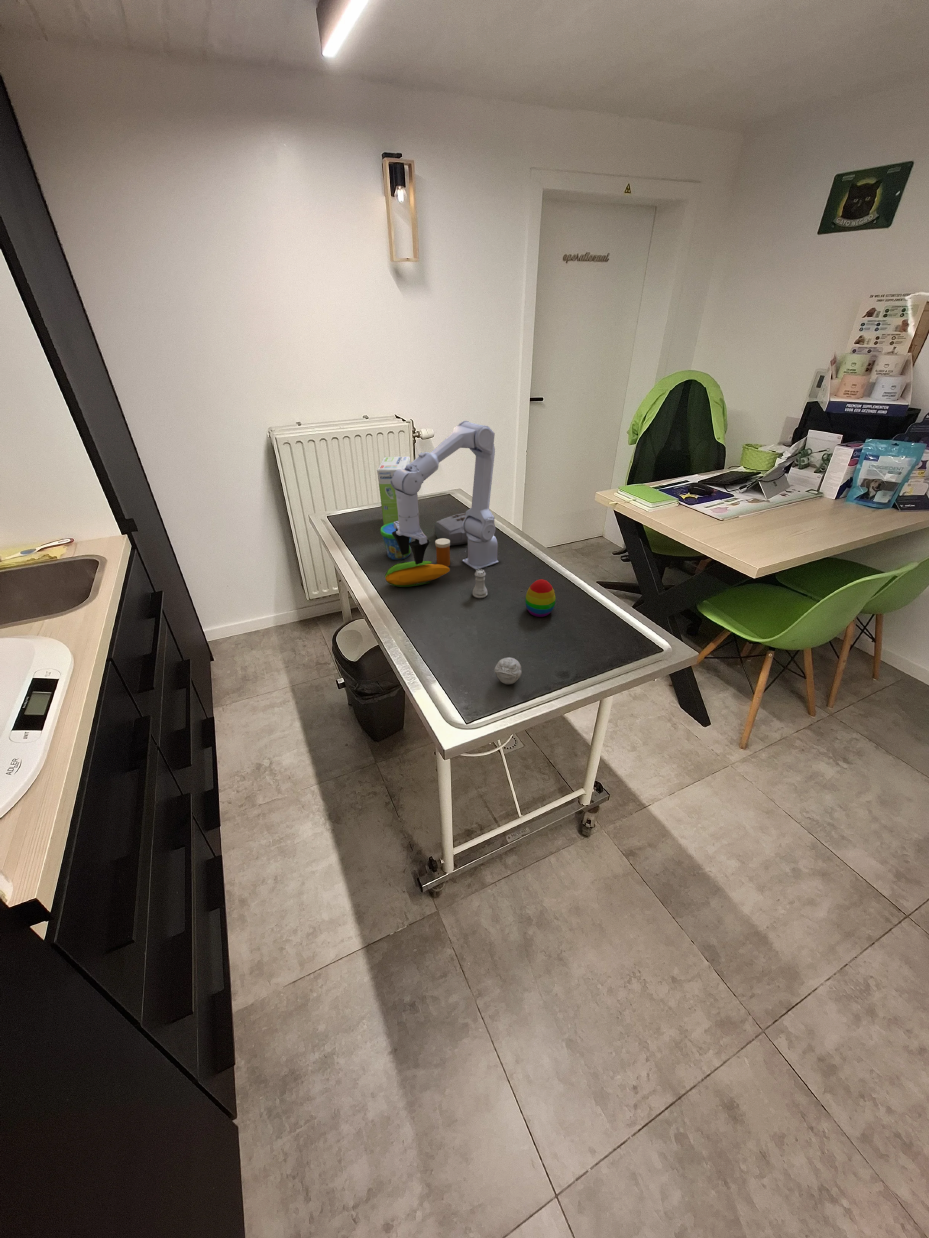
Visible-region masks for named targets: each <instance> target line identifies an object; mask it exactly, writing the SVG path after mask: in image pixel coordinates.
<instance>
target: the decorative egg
mask: <svg viewBox="0 0 929 1238" xmlns="http://www.w3.org/2000/svg"><path fill="white" fill-rule="evenodd" d="M524 602H525V607H526V610H527V611H528V612H529V613H530V615H532V616H534V617H538V618H543V617H547V616H548V615H550V613H552V611H553V610H554V609H555V605H556V592H555V589H554V588H553V586H552V584H551V582H549V581H548V580H546V579H544V578H543V579H541V578H540V579H537V580H535V581H534V582H533V583H532V584H530V585H529V587H528V589H527V591H526V594H525V600H524Z"/></svg>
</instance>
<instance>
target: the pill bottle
mask: <svg viewBox="0 0 929 1238" xmlns="http://www.w3.org/2000/svg"><path fill="white" fill-rule="evenodd" d="M434 545H435V553H436V557H435V558H436V564H440V565H444V566H446V567H449V566H450V565H451V548H450V546H451V545H450V540H449V539H446V538H440V539H438V538H437V539H435V541H434Z"/></svg>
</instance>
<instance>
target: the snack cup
mask: <svg viewBox="0 0 929 1238" xmlns="http://www.w3.org/2000/svg"><path fill="white" fill-rule="evenodd" d="M379 531H380V535H381V536H382V539H383V543H384V547H385V552H386V554H387V557H388V558H389V559H391V560H392V561H394V560H397V561H400V560H403V561H404V560H405V559H407V558H408V557H409V556H410V555H411V552H412V551H411V550H412V549H411V547H410V545H409V553H408V554H405V555H402V554H401V552H400V549H399V546H398V543H397V541H396V539H395V538H394V536H393V535H392V532H394V531H396V529H395V528H394V522H393V523H388V524H386V525H384V524H383V525H382V526H381V527H380V529H379ZM410 542H412V537H410V539H409V543H410Z"/></svg>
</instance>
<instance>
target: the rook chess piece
mask: <svg viewBox="0 0 929 1238" xmlns="http://www.w3.org/2000/svg"><path fill="white" fill-rule="evenodd" d="M486 575H487V573H486V572H485V569H483V568H481V569H478V570H475V572H474V576H475V578H474V579H475V585H474V587H473V589H472V596H473V598H476V599H484V598H486V597H487V596H488V588H487V587H486V584H485V579H486V577H485V576H486Z"/></svg>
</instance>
